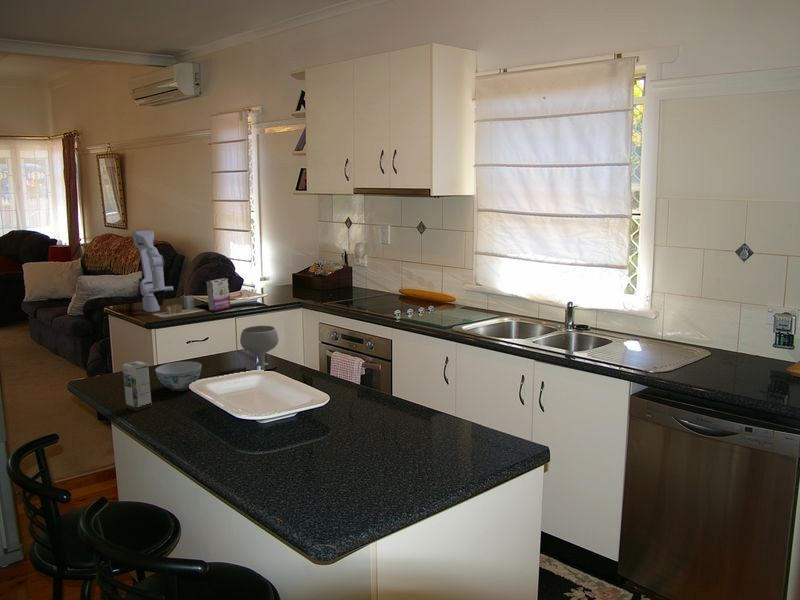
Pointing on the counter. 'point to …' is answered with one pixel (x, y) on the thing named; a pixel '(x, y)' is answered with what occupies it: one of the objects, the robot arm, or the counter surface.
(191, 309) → the birch board
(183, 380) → the chinaware
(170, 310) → the walnut block
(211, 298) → the candy bar box
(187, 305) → the slate blue block
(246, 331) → the chalice
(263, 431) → the counter surface
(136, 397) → the syrup box
